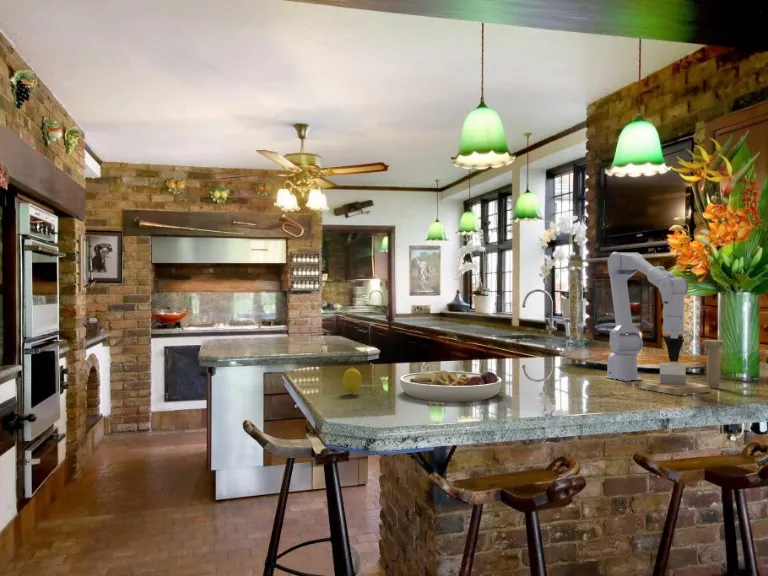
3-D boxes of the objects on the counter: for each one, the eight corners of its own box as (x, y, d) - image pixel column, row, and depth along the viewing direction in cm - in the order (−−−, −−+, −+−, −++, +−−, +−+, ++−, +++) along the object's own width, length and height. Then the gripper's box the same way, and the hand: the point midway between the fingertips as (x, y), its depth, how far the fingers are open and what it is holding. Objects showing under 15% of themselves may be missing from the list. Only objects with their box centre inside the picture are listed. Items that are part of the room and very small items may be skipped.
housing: (685, 385, 185) (685, 365, 185) (660, 383, 188) (660, 364, 188) (684, 383, 189) (684, 363, 189) (660, 381, 192) (660, 362, 192)
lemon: (359, 396, 177) (359, 368, 177) (340, 395, 178) (340, 368, 178) (363, 393, 183) (363, 366, 183) (345, 392, 184) (345, 365, 184)
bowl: (382, 398, 175) (382, 371, 175) (425, 384, 202) (425, 360, 202) (481, 408, 161) (482, 378, 161) (514, 391, 188) (514, 366, 188)
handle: (727, 388, 192) (727, 340, 192) (713, 389, 190) (713, 341, 190) (713, 386, 197) (713, 339, 197) (699, 387, 194) (699, 340, 194)
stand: (638, 388, 191) (638, 381, 191) (669, 385, 197) (669, 378, 197) (677, 395, 179) (677, 388, 179) (709, 392, 185) (709, 385, 185)
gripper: (689, 317, 180) (689, 363, 180) (686, 315, 194) (686, 358, 194) (663, 317, 183) (662, 362, 183) (662, 315, 196) (662, 357, 196)
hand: (673, 360), depth 189 cm, fingers open, 7 cm apart
